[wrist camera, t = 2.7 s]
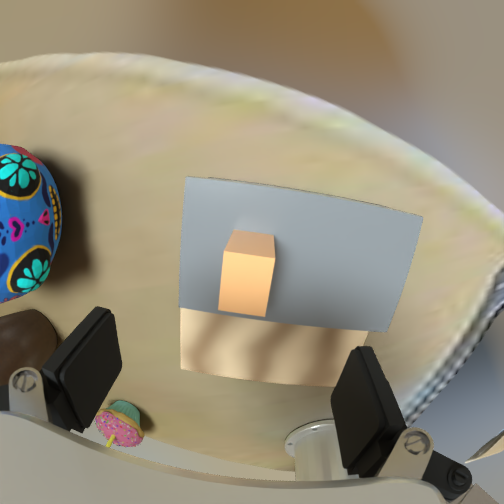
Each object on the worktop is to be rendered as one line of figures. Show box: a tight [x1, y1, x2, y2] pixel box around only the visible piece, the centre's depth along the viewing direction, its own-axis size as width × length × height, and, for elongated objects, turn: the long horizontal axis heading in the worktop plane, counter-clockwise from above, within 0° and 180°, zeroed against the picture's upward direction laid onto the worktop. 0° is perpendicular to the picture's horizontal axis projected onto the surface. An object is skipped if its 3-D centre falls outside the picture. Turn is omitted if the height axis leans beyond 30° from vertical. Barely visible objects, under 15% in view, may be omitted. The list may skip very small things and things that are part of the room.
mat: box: [180, 308, 369, 387], centre depth 32 cm, size 22×13×1 cm, turn 82°
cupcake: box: [95, 400, 144, 448], centre depth 34 cm, size 9×8×12 cm
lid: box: [179, 176, 423, 332], centre depth 20 cm, size 19×11×7 cm, turn 82°
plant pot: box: [0, 310, 57, 386], centre depth 27 cm, size 15×15×16 cm
